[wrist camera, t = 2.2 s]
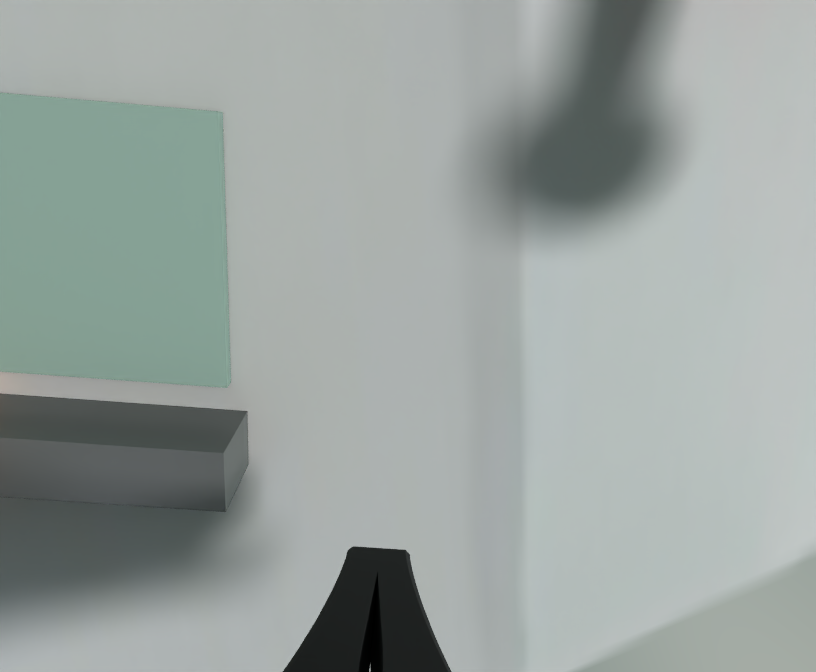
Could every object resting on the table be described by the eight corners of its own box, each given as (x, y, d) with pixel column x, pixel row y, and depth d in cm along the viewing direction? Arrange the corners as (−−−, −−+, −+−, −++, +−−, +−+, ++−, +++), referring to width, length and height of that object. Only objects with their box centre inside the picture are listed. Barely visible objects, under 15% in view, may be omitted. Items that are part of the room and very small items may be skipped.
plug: (248, 489, 19) (203, 590, 15) (-140, 463, 19) (-299, 558, 15) (246, 383, 18) (196, 462, 14) (-173, 353, 17) (-358, 423, 13)
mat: (231, 382, 18) (227, 387, 17) (-26, 363, 18) (-36, 368, 17) (222, 112, 15) (217, 111, 15) (-83, 85, 15) (-95, 84, 14)
